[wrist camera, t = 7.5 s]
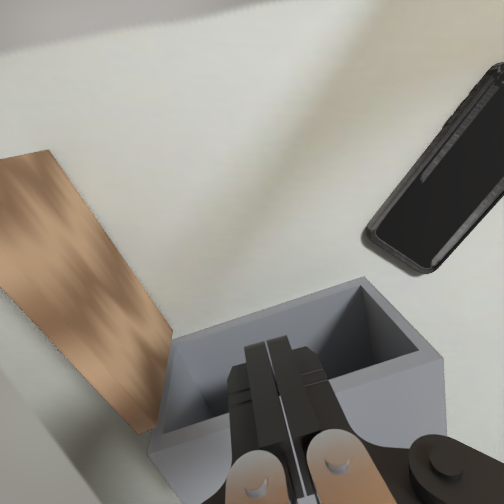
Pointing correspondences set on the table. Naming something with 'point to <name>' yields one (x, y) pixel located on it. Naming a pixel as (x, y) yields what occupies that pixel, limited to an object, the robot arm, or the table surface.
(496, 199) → the phone
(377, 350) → the storage box
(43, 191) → the door
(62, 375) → the table surface
